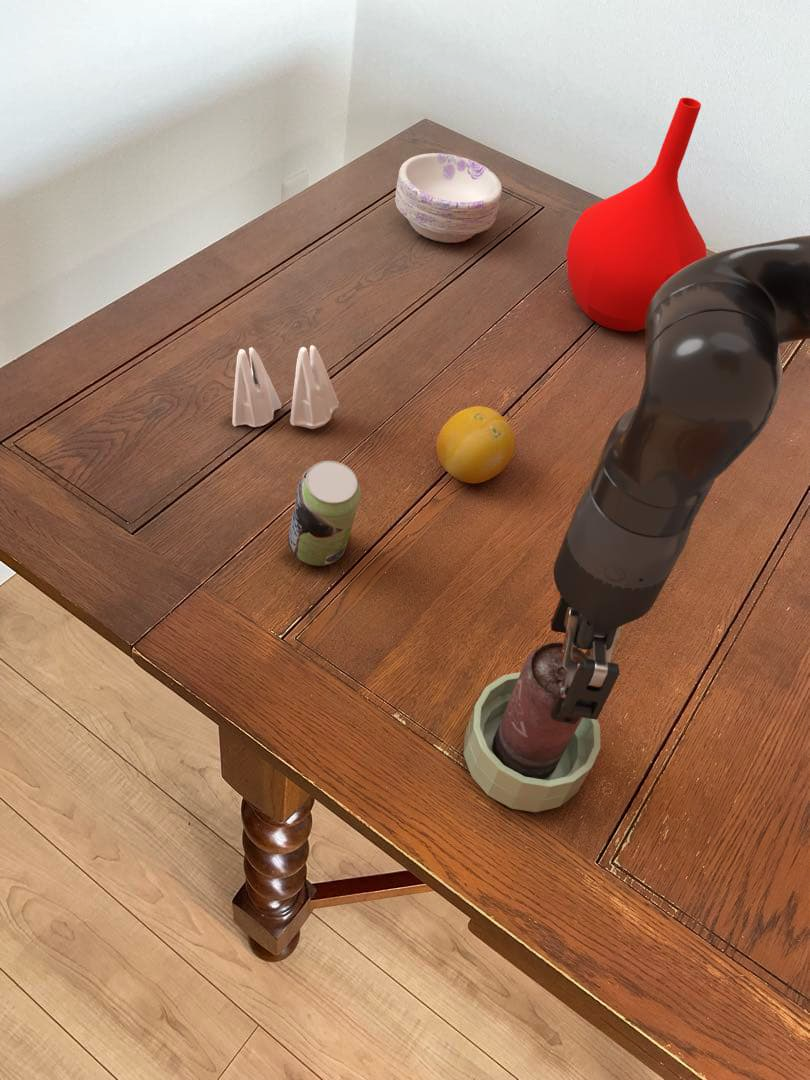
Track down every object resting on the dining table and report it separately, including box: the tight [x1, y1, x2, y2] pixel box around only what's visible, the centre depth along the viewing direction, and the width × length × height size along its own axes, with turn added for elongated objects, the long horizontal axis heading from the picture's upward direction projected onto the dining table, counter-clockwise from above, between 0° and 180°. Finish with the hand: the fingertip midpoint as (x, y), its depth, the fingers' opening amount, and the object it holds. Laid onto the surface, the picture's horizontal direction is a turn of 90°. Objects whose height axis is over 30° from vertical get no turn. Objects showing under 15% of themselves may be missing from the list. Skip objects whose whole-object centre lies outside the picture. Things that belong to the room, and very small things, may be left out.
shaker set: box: [231, 344, 340, 430], centre depth 109 cm, size 12×4×11 cm, turn 89°
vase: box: [566, 97, 707, 333], centre depth 126 cm, size 18×18×30 cm
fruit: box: [435, 405, 516, 484], centre depth 109 cm, size 9×8×8 cm
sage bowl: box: [463, 671, 601, 813], centre depth 86 cm, size 11×11×6 cm
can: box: [492, 641, 589, 780], centre depth 83 cm, size 6×6×14 cm
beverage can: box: [287, 460, 362, 567], centre depth 96 cm, size 6×7×12 cm
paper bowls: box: [394, 152, 503, 244], centre depth 142 cm, size 15×15×8 cm
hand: (562, 671), depth 78 cm, fingers open, 8 cm apart
